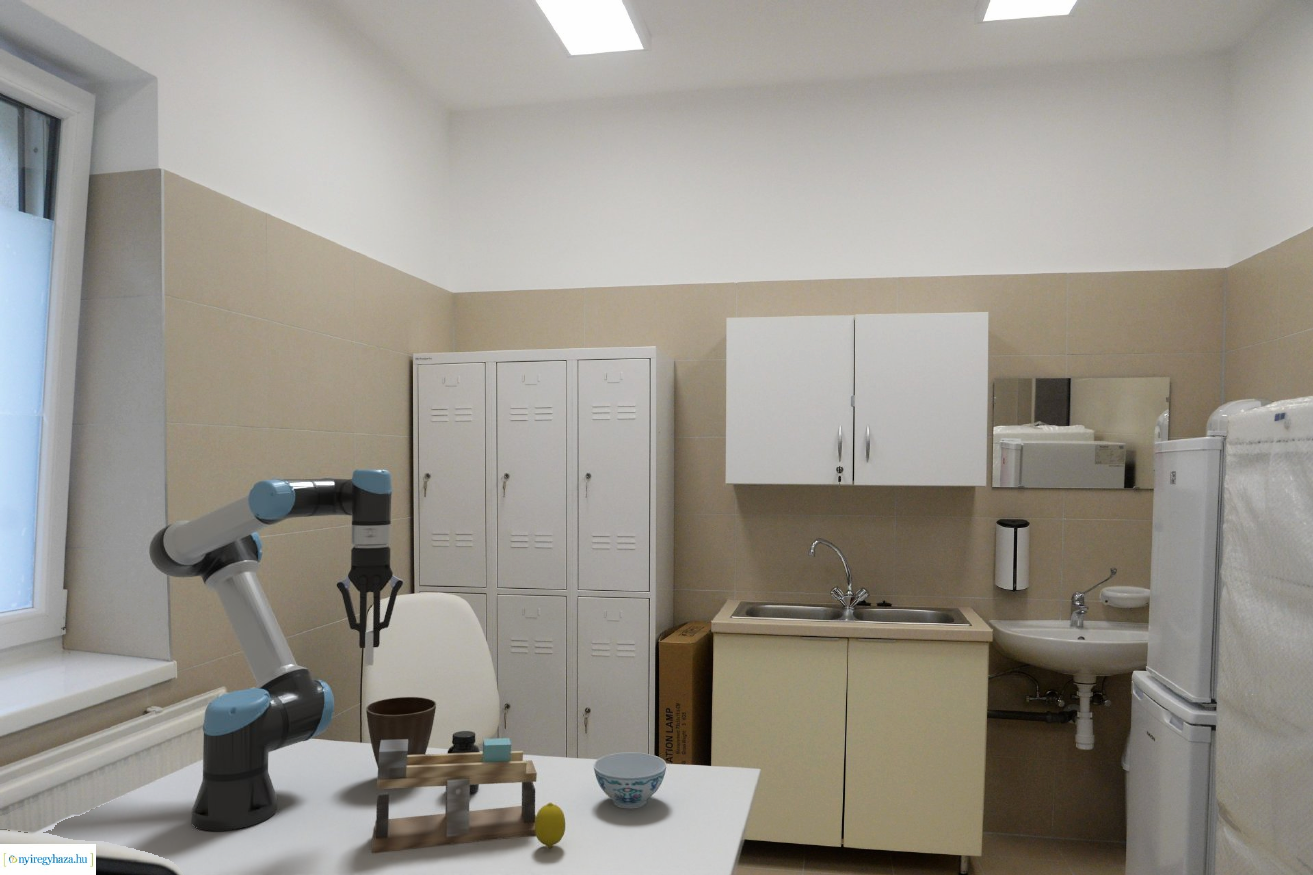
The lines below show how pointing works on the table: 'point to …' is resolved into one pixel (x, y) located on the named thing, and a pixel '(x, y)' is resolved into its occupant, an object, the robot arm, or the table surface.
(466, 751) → the supplement bottle
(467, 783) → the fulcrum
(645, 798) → the chinaware
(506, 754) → the block
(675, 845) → the table surface
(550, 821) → the lemon
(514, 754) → the beam
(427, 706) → the plant pot
